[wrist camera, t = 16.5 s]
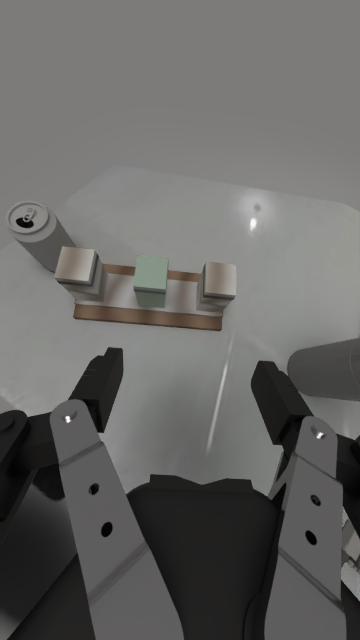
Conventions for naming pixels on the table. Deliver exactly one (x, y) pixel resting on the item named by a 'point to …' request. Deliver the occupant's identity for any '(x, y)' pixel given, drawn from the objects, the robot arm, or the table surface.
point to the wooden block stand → (120, 299)
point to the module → (151, 281)
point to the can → (38, 232)
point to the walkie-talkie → (350, 546)
